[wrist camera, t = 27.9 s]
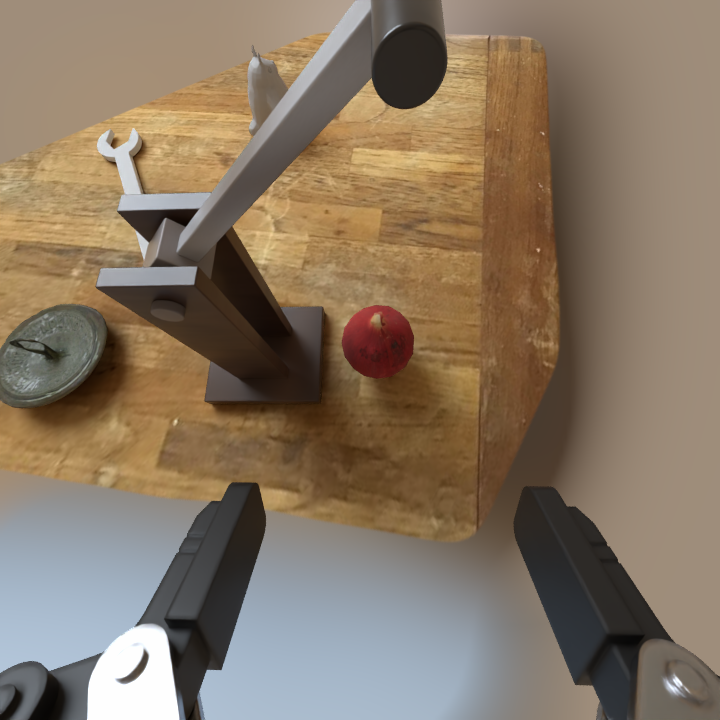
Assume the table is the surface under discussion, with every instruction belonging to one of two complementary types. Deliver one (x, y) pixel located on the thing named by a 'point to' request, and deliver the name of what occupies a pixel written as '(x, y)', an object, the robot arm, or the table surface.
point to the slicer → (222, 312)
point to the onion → (378, 341)
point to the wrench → (125, 167)
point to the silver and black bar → (317, 113)
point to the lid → (50, 355)
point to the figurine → (263, 90)
